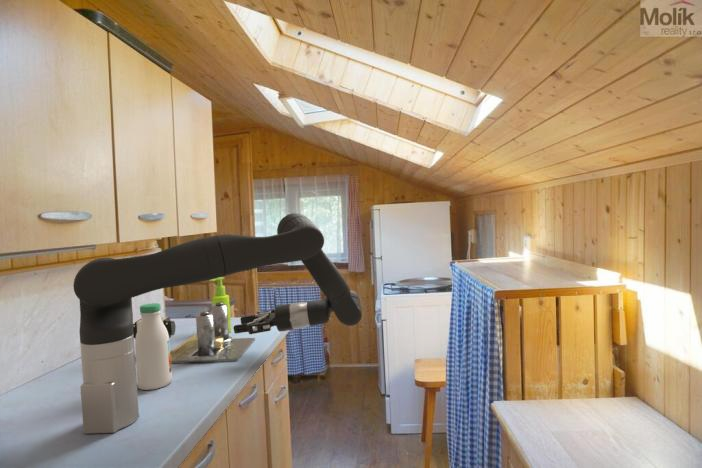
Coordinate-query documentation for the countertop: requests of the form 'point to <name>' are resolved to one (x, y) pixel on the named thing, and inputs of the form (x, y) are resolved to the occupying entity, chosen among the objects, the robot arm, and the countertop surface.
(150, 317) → the milk bottle
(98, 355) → the robot arm
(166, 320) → the pneumatic valve
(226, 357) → the carrier plate
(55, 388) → the countertop surface
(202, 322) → the cylinder
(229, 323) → the soap dispenser
